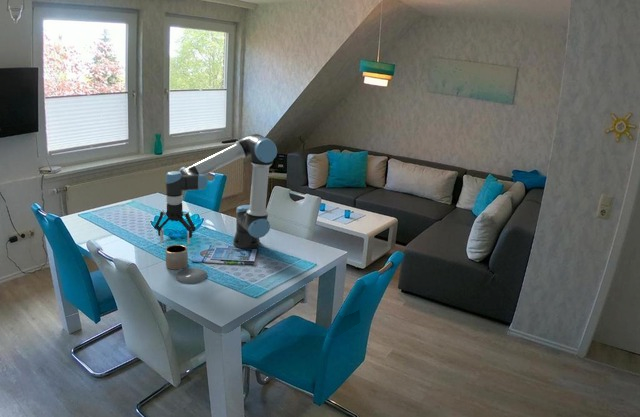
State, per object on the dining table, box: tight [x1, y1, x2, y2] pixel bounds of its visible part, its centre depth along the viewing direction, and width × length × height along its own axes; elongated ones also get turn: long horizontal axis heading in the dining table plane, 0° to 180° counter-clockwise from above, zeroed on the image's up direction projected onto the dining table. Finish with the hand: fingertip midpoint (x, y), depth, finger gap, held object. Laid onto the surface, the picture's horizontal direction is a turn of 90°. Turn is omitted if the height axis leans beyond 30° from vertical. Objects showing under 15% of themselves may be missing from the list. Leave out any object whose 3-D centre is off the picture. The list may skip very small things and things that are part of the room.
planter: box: [165, 244, 189, 271], centre depth 256 cm, size 11×11×10 cm
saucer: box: [174, 267, 208, 284], centre depth 247 cm, size 15×15×1 cm
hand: (175, 242), depth 253 cm, fingers open, 13 cm apart
